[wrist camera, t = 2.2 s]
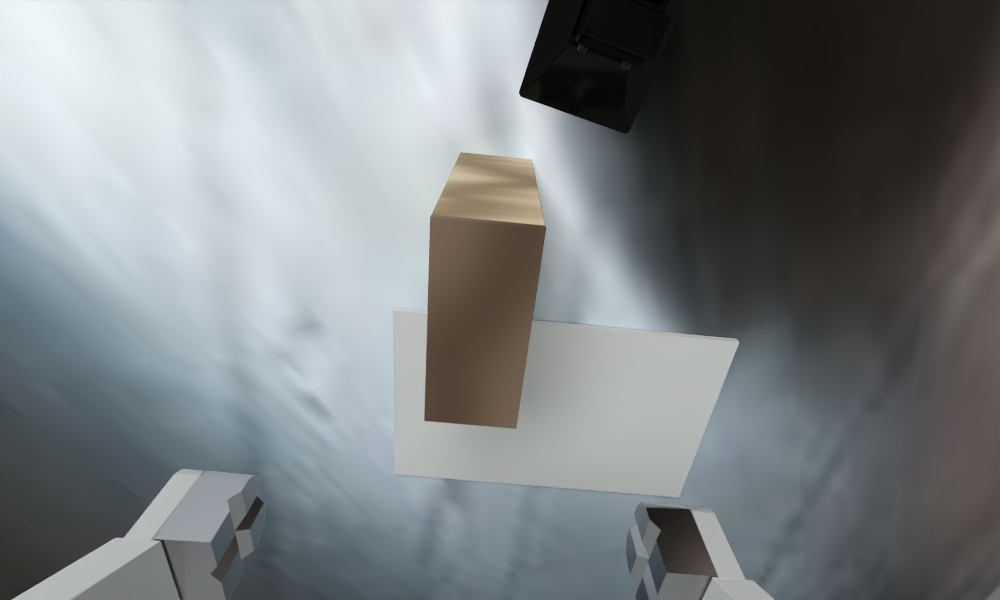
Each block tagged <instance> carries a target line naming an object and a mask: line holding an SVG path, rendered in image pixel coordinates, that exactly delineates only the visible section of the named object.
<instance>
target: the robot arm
mask: <svg viewBox="0 0 1000 600" xmlns="http://www.w3.org/2000/svg"><path fill="white" fill-rule="evenodd" d="M260 489H261V485H260V481H259V477H258V476H253V475H243V474H233V473H223V472H213V471H200V470H189V469H182V470H180V471H179V472H177V473H175V474H174V475H173V476H172V478H171V479H170V480H169V481H168V483H167V484H166V485H165V486H164V488H163V489H162V490H161V491H160V493H159V494H158V495H157V496H156V498H155V499H154V500H153V502H152V503H151V504H150V505H149V507H148V508H147V509H146V510H145V512H144V513H143V514H142V515H141V517H140V518H139V519H138V520H137V522H136V523H135V524H134V526H133V527H132V528H131V529H130V531H129V532H128V533H127V534H126V536H125V537H124V538H115V539H113V540H111V541H109V542H108V543H106V544H104V545H103V546H101V547H99V548H98V549H96V550H94V551H93V552H91V553H89V554H88V555H86V556H84V557H83V558H81V559H79V560H78V561H76V562H74V563H73V564H71V565H69V566H68V567H66V568H64V569H62V570H61V571H59V572H57V573H56V574H54V575H52V576H51V577H49V578H47V579H46V580H44V581H42V582H41V583H39V584H37V585H36V586H34V587H32V588H31V589H29V590H27V591H26V592H24V593H22V594H21V595H19V596H17V597H15V598H14V599H12V600H229V598H230V596H231V594H232V592H233V591H234V589H235V587H236V585H237V583H238V581H239V579H240V577H241V575H242V573H243V566H242V561H241V559H243V558H244V557H245V556H247V555H248V554H249V553H251V552H252V551H253V550H254V549H255V547H256V545H257V543H258V541H259V539H260V536H261V533H262V529H263V525H264V522H265V507H264V503H263V502H262V501H261V500H260V499H259V498H258V497H257V494H258V493H259V491H260ZM634 515H635V518H636V522H637V524H635V525H634V526H633V527H631V528H630V530H629V533H628V537H627V548H626V554H627V562H628V567H629V571H630V575H631V576H632V577H633V578H634V580H635V581H636V582H637V583H638V584H639V588H638V591H637V594H636V600H774V599H773V598H772V597H771V596H770V595H769V594H768V593H767V592H766V591H764V590H763V589H762V588H761V587H760V586H759V585H758V584H757V583H756V582H754V581H753V580H746V579H745V577H744V574H743V572H742V570H741V568H740V566H739V564H738V562H737V560H736V558H735V555H734V553H733V551H732V549H731V547H730V545H729V543H728V541H727V539H726V537H725V534H724V532H723V530H722V528H721V526H720V524H719V522H718V520H717V518H716V515H715V513H714V512H713V511H712V510H711V509H710V508H709V507H696V506H684V505H670V504H653V503H640V504H639V505H638V506H637V508H636V511H635V514H634Z"/></svg>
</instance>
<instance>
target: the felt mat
mask: <svg viewBox="0 0 1000 600" xmlns="http://www.w3.org/2000/svg"><path fill="white" fill-rule="evenodd" d="M427 313H428V310H420V309H409V308H398V307H395V309H394V443H395V474H397V475H409V476H422V477H434V478H446V479H458V480H470V481H483V482H495V483H507V484H519V485H531V486H544V487H556V488H568V489H580V490H592V491H605V492H617V493H629V494H641V495H653V496H666V497H678V498H679V496H680V494H681V491H682V489H683V486H684V484H685V481H686V478H687V476H688V473H689V471H690V468H691V466H692V463H693V460H694V458H695V455H696V453H697V450H698V448H699V445H700V442H701V440H702V437H703V435H704V432H705V429H706V427H707V424H708V422H709V419H710V417H711V414H712V411H713V409H714V406H715V404H716V401H717V399H718V396H719V393H720V391H721V388H722V386H723V383H724V381H725V378H726V375H727V373H728V370H729V368H730V365H731V362H732V360H733V357H734V355H735V352H736V350H737V347H738V344H739V341H738V340H737V339H734V338H723V337H712V336H701V335H690V334H680V333H669V332H658V331H647V330H636V329H626V328H615V327H604V326H593V325H582V324H571V323H561V322H550V321H539V320H532V326H531V333H530V339H529V346H528V353H527V360H526V367H525V373H524V380H523V387H522V394H521V400H520V407H519V414H518V421H517V427H516V429H512V428H500V427H489V426H477V425H465V424H454V423H442V422H430V421H424V411H425V378H426V346H427Z"/></svg>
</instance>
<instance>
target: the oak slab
mask: <svg viewBox="0 0 1000 600" xmlns="http://www.w3.org/2000/svg"><path fill="white" fill-rule="evenodd" d="M545 231H546V227H545V222H544V217H543V213H542V208H541V203H540V198H539V193H538V188H537V184H536V179H535V174H534V169H533V164H532V160H529V159H520V158H510V157H500V156H490V155H481V154H471V153H460V155H459V157H458V160H457V162H456V164H455V166H454V168H453V170H452V172H451V175H450V177H449V179H448V181H447V183H446V185H445V187H444V190H443V192H442V194H441V196H440V198H439V200H438V202H437V205H436V207H435V209H434V211H433V213H432V215H431V217H430V248H429V281H428V313H427V346H426V378H425V411H424V421H430V422H442V423H454V424H465V425H477V426H489V427H500V428H512V429H516V427H517V421H518V414H519V407H520V400H521V394H522V387H523V380H524V373H525V367H526V360H527V353H528V346H529V339H530V333H531V326H532V319H533V312H534V306H535V299H536V292H537V285H538V279H539V272H540V265H541V258H542V252H543V245H544V238H545Z"/></svg>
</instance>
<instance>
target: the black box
mask: <svg viewBox="0 0 1000 600" xmlns="http://www.w3.org/2000/svg"><path fill="white" fill-rule="evenodd" d="M685 1H686V0H549V2H548V5H547V8H546V11H545V14H544V17H543V20H542V23H541V27H540V30H539V33H538V36H537V39H536V42H535V45H534V48H533V51H532V54H531V57H530V60H529V63H528V66H527V69H526V72H525V75H524V79H523V82H522V85H521V88H520V91H519V94H520V96H521V97H524V98H527V99H529V100H532V101H535V102H538V103H541V104H543V105H546V106H549V107H552V108H555V109H557V110H560V111H563V112H566V113H569V114H571V115H574V116H577V117H580V118H583V119H586V120H588V121H591V122H594V123H597V124H600V125H602V126H605V127H608V128H611V129H614V130H616V131H619V132H622V133H628V132H629V131H630V128H631V126H632V124H633V121H634V119H635V117H636V114H637V112H638V110H639V107H640V105H641V103H642V100H643V98H644V96H645V94H646V91H647V89H648V87H649V84H650V82H651V80H652V77H653V75H654V73H655V70H656V68H657V66H658V63H659V61H660V59H661V56H662V54H663V52H664V49H665V47H666V45H667V43H668V40H669V38H670V36H671V33H672V31H673V29H674V26H675V24H676V22H677V19H678V17H679V15H680V12H681V10H682V8H683V5H684V3H685Z"/></svg>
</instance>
